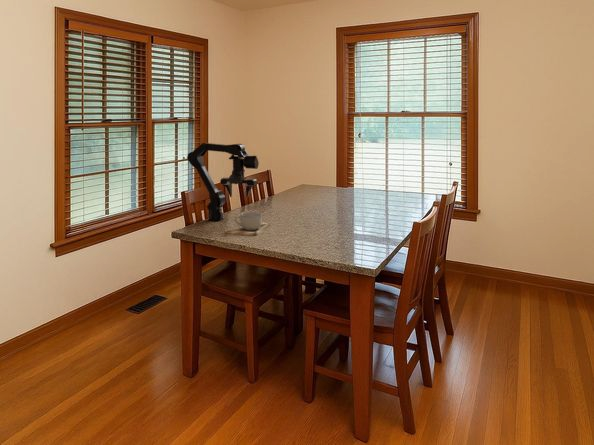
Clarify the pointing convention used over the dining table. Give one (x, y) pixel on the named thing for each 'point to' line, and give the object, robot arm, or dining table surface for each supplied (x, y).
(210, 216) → the robot arm
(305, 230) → the dining table surface
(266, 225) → the frame
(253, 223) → the teacup
